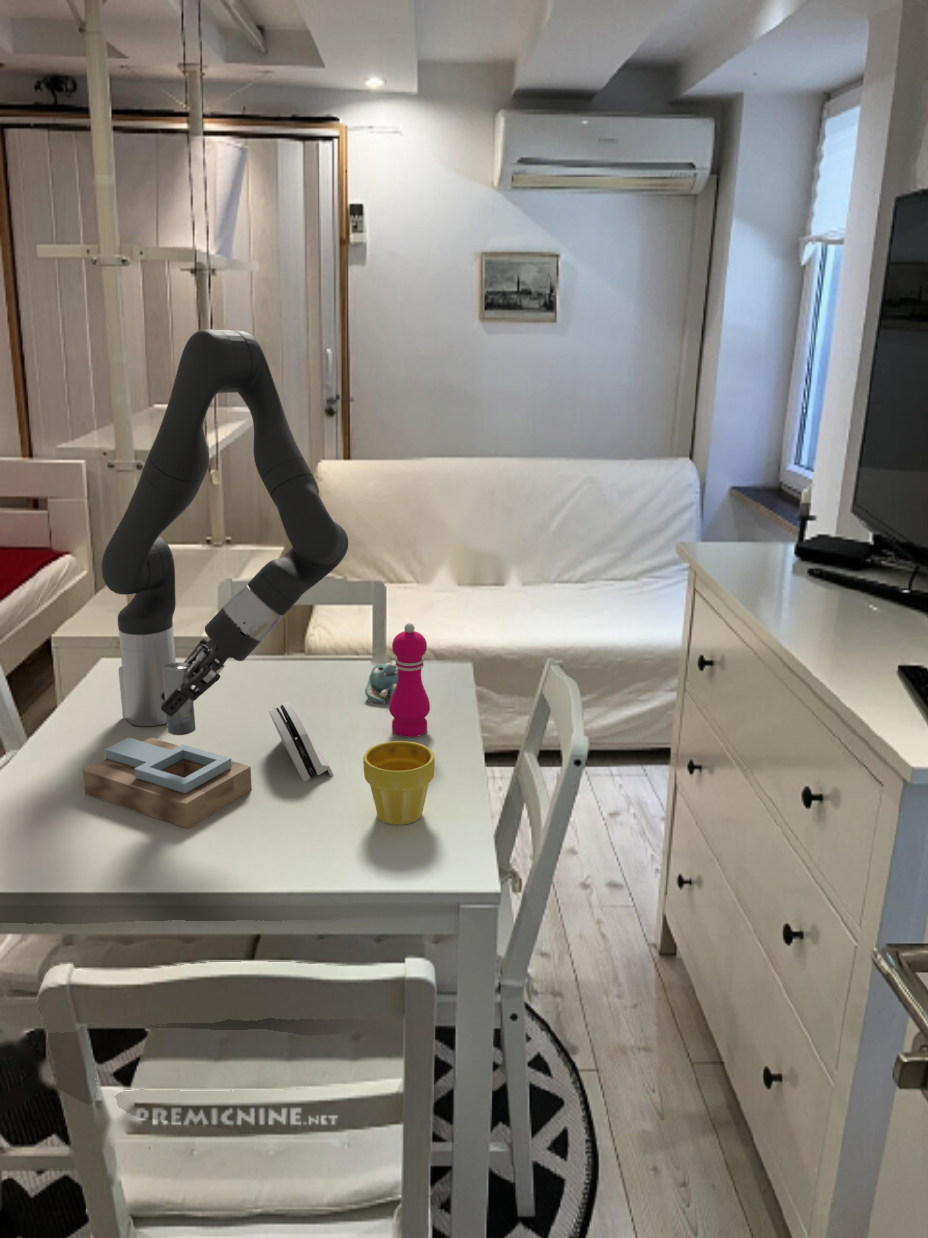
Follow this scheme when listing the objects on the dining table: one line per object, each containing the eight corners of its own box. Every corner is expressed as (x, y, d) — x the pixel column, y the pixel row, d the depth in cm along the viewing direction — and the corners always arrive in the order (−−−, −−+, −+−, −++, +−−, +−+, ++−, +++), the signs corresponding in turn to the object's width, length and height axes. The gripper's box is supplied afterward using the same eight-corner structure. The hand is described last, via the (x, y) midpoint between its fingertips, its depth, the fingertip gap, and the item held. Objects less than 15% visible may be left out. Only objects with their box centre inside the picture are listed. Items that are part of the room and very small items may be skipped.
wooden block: (85, 793, 154) (82, 770, 153) (152, 759, 166) (150, 737, 165) (187, 828, 145) (185, 803, 144) (251, 789, 157) (250, 766, 155)
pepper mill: (382, 734, 177) (381, 626, 171) (400, 719, 184) (399, 615, 178) (419, 741, 175) (419, 632, 169) (436, 726, 181) (437, 620, 175)
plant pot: (377, 838, 143) (376, 775, 140) (355, 805, 152) (354, 746, 149) (444, 824, 147) (445, 763, 144) (419, 793, 156) (419, 736, 153)
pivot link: (92, 764, 155) (91, 755, 154) (141, 740, 163) (140, 732, 163) (185, 793, 146) (184, 784, 146) (231, 767, 155) (231, 758, 154)
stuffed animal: (378, 687, 184) (354, 655, 194) (375, 720, 188) (353, 687, 197) (431, 678, 189) (406, 648, 198) (428, 710, 192) (403, 679, 202)
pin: (162, 731, 150) (156, 668, 147) (181, 722, 153) (176, 660, 150) (182, 737, 148) (176, 673, 145) (201, 727, 151) (196, 665, 148)
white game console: (334, 776, 161) (311, 725, 157) (307, 789, 160) (283, 738, 156) (310, 735, 176) (288, 688, 172) (285, 747, 175) (263, 700, 171)
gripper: (222, 593, 153) (145, 674, 154) (227, 620, 140) (144, 709, 141) (259, 623, 156) (184, 703, 157) (268, 653, 143) (186, 740, 144)
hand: (165, 706), depth 149 cm, fingers closed on pin, 4 cm apart
